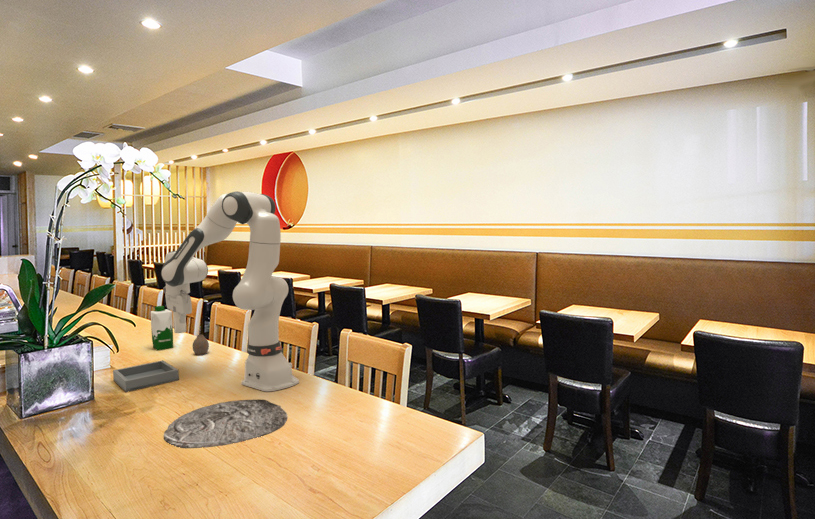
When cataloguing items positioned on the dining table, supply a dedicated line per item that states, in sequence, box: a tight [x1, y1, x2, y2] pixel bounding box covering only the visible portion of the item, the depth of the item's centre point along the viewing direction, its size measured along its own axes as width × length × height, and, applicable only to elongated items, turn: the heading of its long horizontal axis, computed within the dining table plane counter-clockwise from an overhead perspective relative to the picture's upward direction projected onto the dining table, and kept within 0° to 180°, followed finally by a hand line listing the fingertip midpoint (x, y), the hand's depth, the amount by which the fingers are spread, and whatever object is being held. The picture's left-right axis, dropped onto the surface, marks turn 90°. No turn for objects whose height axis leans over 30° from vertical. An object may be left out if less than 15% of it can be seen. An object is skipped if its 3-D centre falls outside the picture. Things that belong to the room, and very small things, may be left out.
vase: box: [192, 334, 210, 356], centre depth 218 cm, size 7×7×9 cm
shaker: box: [172, 306, 187, 334], centre depth 198 cm, size 5×5×11 cm
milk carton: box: [150, 305, 174, 351], centre depth 229 cm, size 9×9×20 cm
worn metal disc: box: [163, 398, 288, 449], centre depth 144 cm, size 33×35×1 cm
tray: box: [112, 360, 180, 393], centre depth 182 cm, size 18×18×4 cm
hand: (179, 322), depth 198 cm, fingers closed on shaker, 4 cm apart
